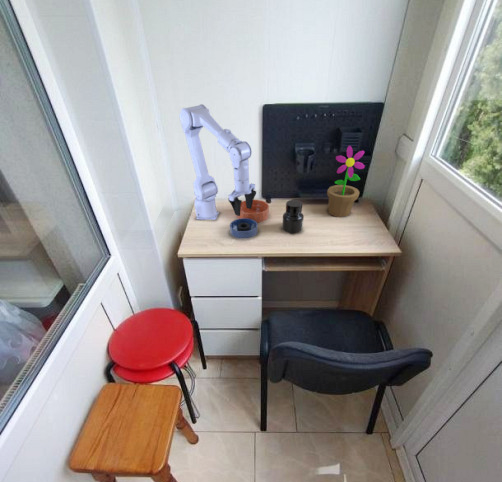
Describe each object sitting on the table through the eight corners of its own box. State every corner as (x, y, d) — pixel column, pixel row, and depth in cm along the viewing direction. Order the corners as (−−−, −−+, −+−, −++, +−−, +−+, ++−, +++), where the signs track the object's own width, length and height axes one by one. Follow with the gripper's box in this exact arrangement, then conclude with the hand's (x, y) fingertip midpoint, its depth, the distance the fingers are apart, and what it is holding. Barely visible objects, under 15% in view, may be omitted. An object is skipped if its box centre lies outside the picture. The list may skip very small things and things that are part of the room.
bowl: (234, 223, 131) (234, 213, 127) (240, 208, 142) (239, 198, 138) (267, 225, 129) (267, 214, 126) (270, 210, 140) (270, 200, 136)
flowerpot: (323, 217, 133) (335, 147, 113) (324, 204, 143) (336, 137, 123) (354, 220, 131) (372, 149, 110) (353, 206, 141) (370, 139, 120)
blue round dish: (228, 238, 121) (227, 231, 119) (233, 224, 130) (232, 217, 127) (255, 240, 120) (255, 232, 118) (259, 226, 129) (259, 218, 126)
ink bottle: (306, 230, 125) (310, 204, 117) (292, 236, 121) (294, 210, 113) (291, 221, 131) (294, 196, 122) (277, 227, 127) (278, 202, 119)
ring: (237, 233, 123) (237, 227, 121) (239, 228, 127) (239, 222, 125) (248, 234, 123) (248, 228, 121) (250, 228, 126) (250, 222, 124)
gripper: (237, 186, 103) (239, 220, 112) (261, 174, 111) (261, 207, 121) (223, 182, 106) (226, 216, 116) (247, 171, 115) (248, 203, 124)
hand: (243, 211), depth 118 cm, fingers open, 7 cm apart
